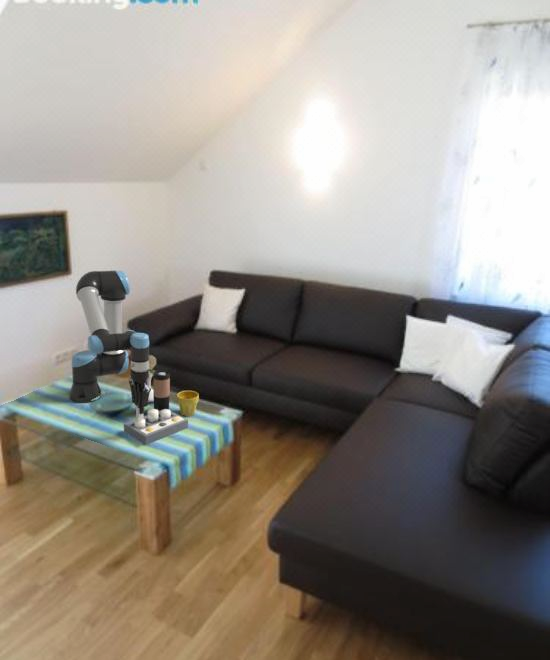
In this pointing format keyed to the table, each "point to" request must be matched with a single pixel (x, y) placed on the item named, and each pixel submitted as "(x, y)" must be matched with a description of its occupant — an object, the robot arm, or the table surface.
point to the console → (155, 435)
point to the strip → (162, 425)
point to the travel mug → (161, 390)
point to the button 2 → (152, 416)
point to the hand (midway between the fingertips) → (139, 419)
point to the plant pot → (187, 402)
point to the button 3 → (165, 413)
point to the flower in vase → (151, 364)
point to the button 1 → (139, 423)
